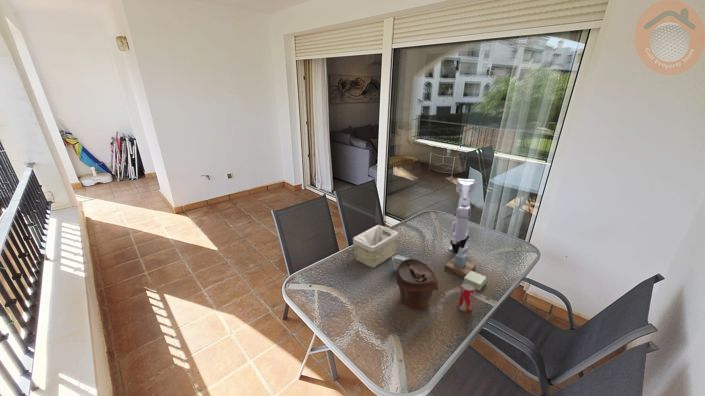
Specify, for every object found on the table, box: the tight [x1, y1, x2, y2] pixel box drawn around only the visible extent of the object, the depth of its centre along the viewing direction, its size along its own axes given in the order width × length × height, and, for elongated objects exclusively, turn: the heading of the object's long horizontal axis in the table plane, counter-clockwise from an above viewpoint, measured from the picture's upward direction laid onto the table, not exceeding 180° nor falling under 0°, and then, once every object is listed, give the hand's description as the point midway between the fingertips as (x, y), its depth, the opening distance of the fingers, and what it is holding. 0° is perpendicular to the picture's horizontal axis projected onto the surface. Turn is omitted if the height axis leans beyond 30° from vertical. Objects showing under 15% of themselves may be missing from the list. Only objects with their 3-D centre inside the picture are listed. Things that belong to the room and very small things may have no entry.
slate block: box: [454, 252, 468, 268], centre depth 152 cm, size 4×4×6 cm
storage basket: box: [352, 224, 399, 269], centre depth 165 cm, size 24×16×15 cm
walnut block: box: [444, 256, 477, 278], centre depth 154 cm, size 12×12×3 cm
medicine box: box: [392, 254, 411, 273], centre depth 151 cm, size 8×4×9 cm, turn 62°
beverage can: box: [457, 282, 476, 313], centre depth 124 cm, size 6×6×12 cm
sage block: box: [463, 270, 487, 291], centre depth 142 cm, size 8×8×4 cm
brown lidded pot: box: [394, 258, 439, 311], centre depth 129 cm, size 18×20×18 cm
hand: (458, 250), depth 152 cm, fingers open, 7 cm apart
